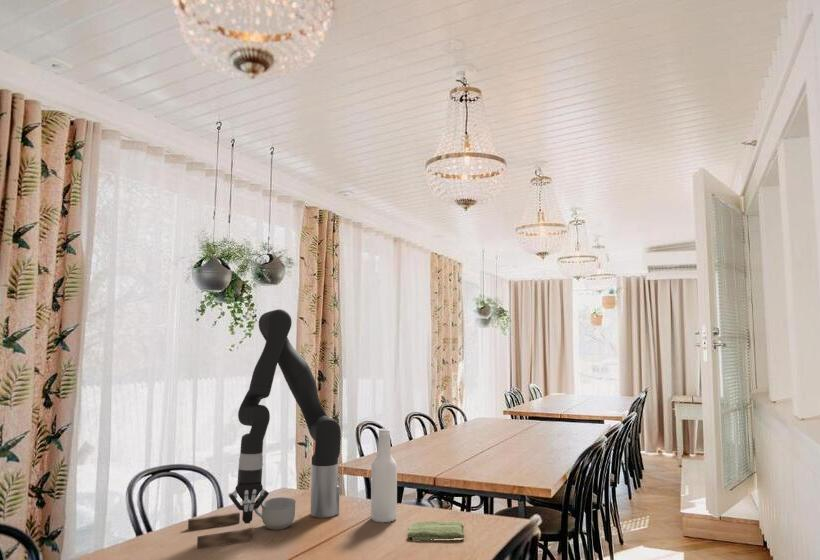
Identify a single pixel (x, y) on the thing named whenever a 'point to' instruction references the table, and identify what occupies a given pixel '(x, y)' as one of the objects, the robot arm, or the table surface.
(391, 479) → the alcohol
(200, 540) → the pair of wooden slats
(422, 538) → the washcloth
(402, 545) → the table surface
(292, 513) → the teacup
